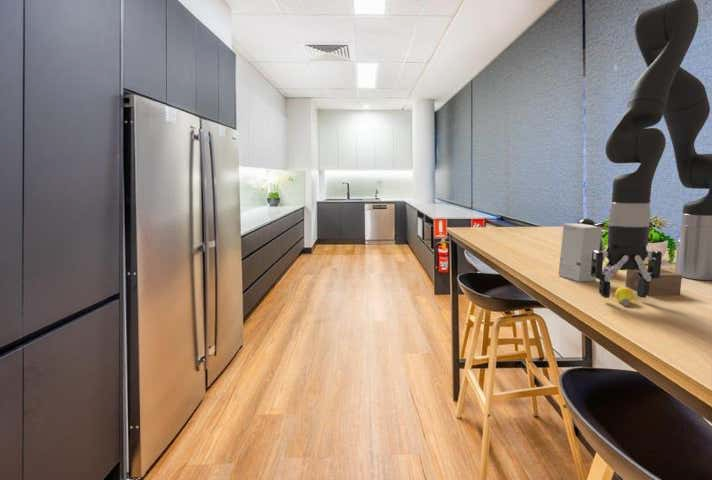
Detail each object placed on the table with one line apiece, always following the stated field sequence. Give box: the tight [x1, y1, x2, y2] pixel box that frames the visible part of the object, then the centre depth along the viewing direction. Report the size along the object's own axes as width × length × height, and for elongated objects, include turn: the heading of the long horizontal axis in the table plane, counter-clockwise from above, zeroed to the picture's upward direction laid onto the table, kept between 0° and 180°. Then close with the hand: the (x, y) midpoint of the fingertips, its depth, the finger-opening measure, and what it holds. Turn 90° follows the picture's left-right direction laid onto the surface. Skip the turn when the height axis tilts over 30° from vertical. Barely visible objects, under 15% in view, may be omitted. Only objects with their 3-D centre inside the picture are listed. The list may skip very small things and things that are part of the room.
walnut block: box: [625, 267, 683, 296], centre depth 106 cm, size 8×8×5 cm
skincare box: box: [558, 223, 603, 283], centre depth 119 cm, size 8×6×15 cm
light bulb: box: [614, 286, 634, 307], centre depth 96 cm, size 3×6×4 cm, turn 155°
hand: (623, 296), depth 97 cm, fingers open, 7 cm apart
